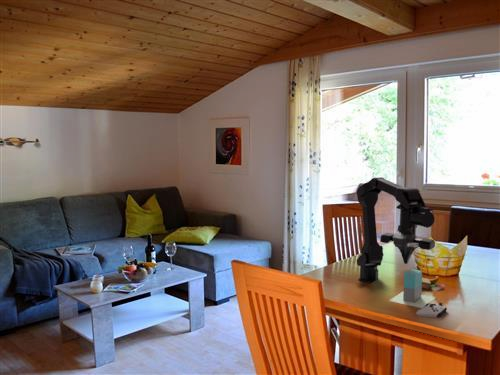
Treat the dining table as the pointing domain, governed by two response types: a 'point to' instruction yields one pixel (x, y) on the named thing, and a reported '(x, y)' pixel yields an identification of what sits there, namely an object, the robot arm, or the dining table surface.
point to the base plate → (419, 303)
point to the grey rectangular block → (412, 294)
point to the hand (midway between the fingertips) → (405, 263)
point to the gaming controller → (432, 310)
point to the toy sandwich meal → (431, 285)
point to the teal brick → (412, 278)
